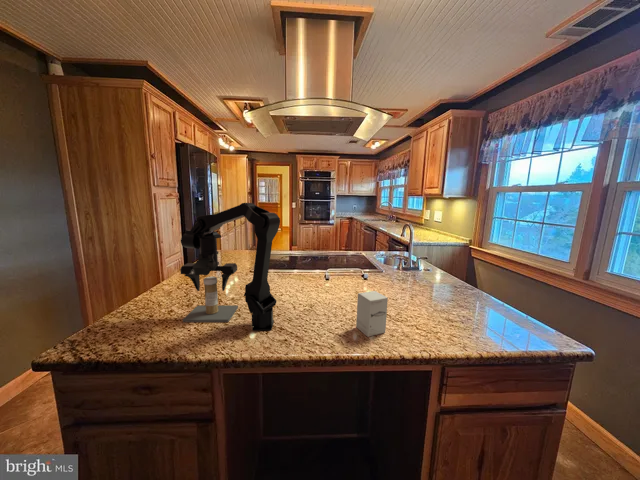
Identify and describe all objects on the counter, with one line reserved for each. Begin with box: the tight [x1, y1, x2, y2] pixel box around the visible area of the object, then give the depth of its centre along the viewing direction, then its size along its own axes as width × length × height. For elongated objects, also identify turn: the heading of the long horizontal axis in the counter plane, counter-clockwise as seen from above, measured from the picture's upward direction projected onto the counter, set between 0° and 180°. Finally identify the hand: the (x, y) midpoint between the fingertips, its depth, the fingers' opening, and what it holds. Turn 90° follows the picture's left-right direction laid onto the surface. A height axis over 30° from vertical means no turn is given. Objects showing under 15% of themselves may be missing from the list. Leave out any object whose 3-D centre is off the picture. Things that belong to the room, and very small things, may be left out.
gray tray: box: [182, 304, 239, 323], centre depth 94 cm, size 16×12×1 cm
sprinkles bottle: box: [203, 276, 219, 314], centre depth 93 cm, size 5×5×14 cm
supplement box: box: [355, 290, 389, 338], centre depth 84 cm, size 7×7×13 cm
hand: (210, 290), depth 93 cm, fingers open, 9 cm apart
